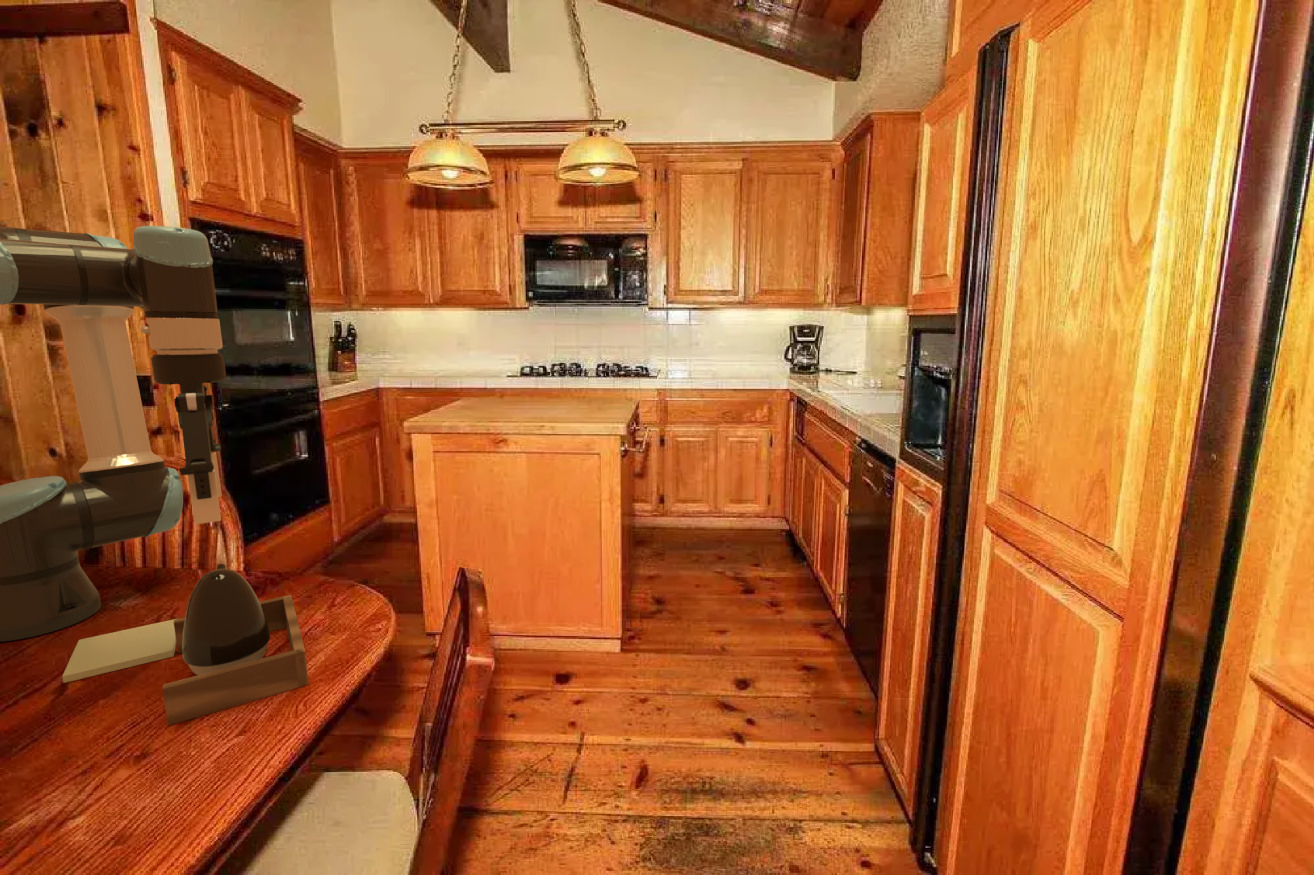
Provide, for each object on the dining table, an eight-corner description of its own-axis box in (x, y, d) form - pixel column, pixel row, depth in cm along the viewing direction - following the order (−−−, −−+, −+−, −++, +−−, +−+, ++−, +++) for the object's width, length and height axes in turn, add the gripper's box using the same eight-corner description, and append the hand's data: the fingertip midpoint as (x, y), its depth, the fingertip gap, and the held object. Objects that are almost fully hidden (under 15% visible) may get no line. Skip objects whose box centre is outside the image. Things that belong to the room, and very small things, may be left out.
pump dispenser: (273, 643, 94) (261, 551, 91) (273, 676, 85) (261, 575, 82) (191, 662, 88) (176, 565, 86) (182, 699, 80) (165, 592, 77)
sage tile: (80, 645, 93) (79, 639, 93) (178, 624, 100) (177, 618, 99) (63, 683, 83) (62, 676, 83) (173, 656, 90) (172, 650, 90)
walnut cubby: (178, 650, 92) (174, 619, 91) (294, 622, 100) (291, 594, 99) (168, 725, 74) (162, 689, 74) (308, 684, 83) (305, 651, 82)
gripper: (159, 349, 86) (180, 492, 90) (138, 356, 66) (166, 540, 70) (223, 348, 90) (240, 485, 94) (222, 355, 70) (244, 528, 74)
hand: (209, 509), depth 82 cm, fingers open, 13 cm apart
